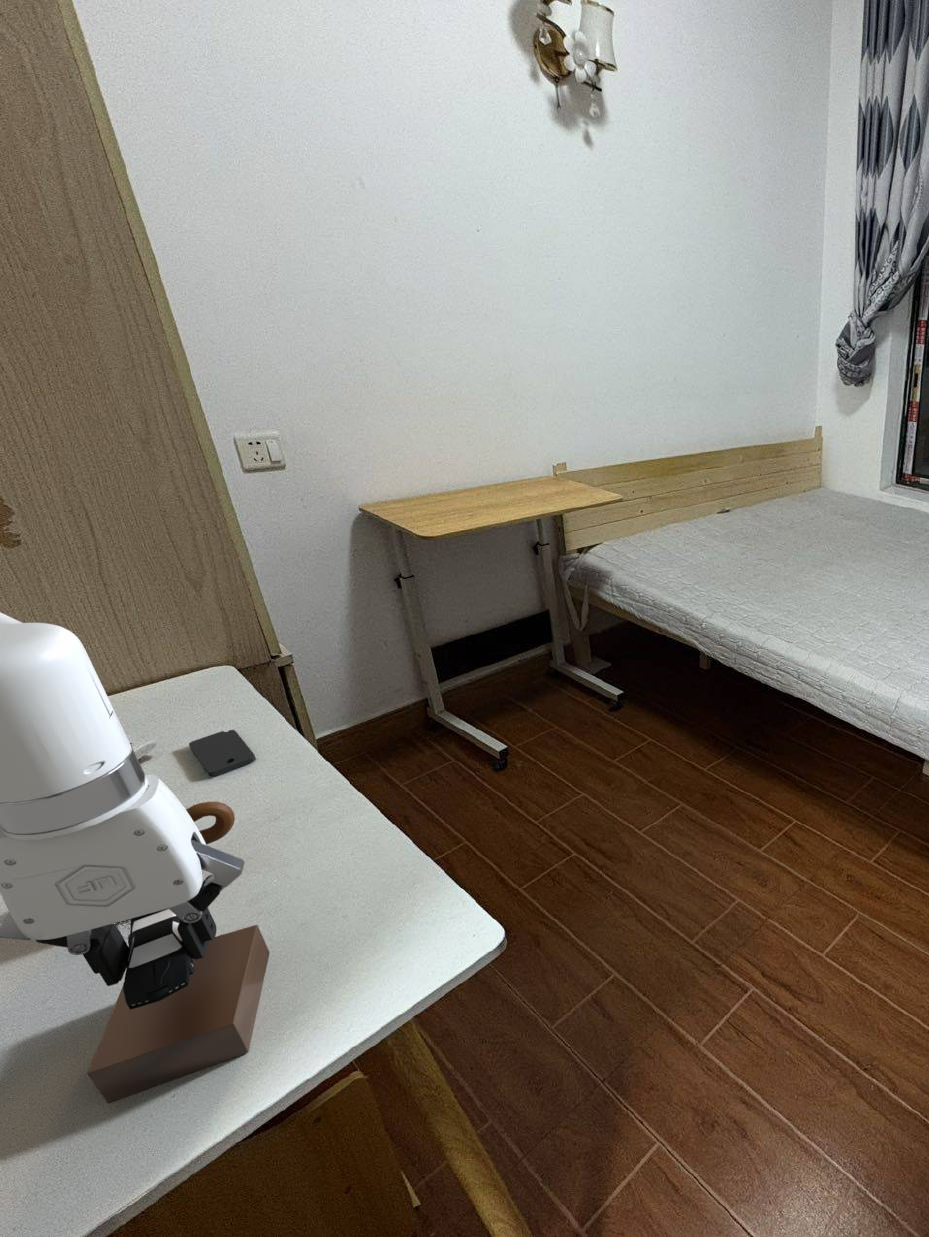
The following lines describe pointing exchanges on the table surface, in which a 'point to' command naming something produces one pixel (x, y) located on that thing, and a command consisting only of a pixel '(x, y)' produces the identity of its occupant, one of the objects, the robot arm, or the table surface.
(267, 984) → the table surface
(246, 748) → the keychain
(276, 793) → the table surface
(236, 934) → the walnut block
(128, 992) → the toy car
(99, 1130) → the table surface
